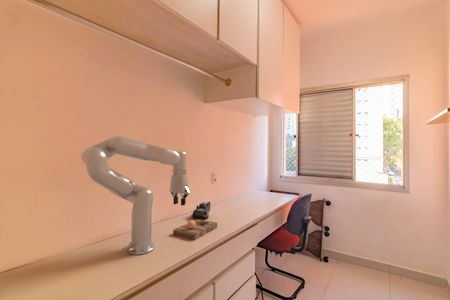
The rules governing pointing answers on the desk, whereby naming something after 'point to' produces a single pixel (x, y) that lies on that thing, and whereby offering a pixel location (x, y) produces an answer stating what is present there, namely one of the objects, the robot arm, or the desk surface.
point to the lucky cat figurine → (202, 210)
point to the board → (195, 229)
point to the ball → (191, 224)
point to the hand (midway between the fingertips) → (179, 204)
